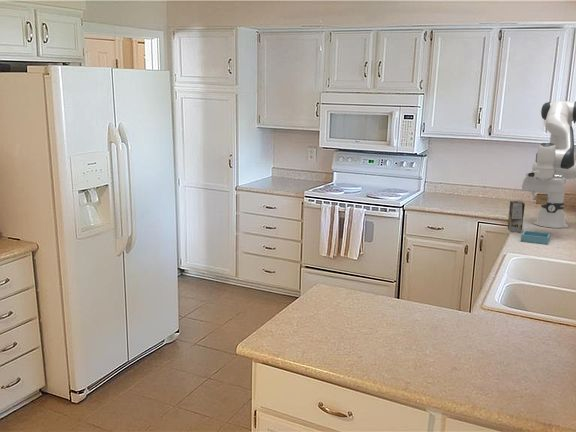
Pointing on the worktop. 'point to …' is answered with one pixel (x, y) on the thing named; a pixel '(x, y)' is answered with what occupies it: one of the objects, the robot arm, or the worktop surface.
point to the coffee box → (516, 216)
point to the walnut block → (541, 199)
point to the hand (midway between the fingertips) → (541, 200)
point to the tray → (535, 237)
